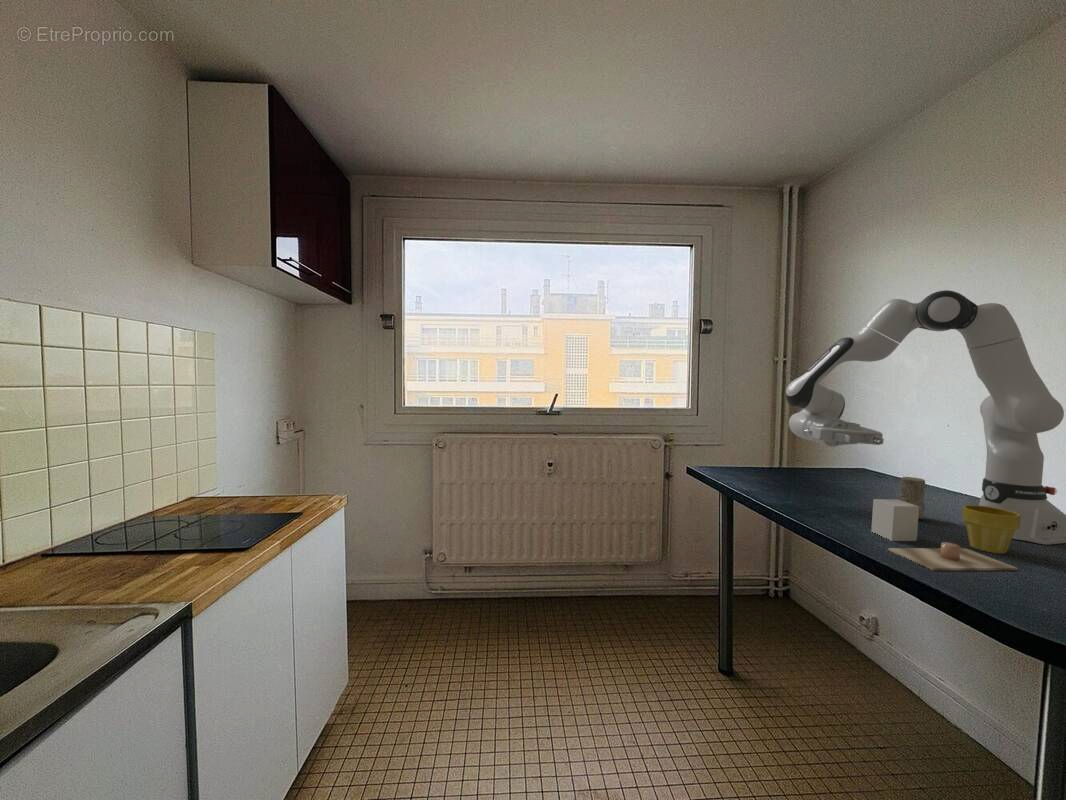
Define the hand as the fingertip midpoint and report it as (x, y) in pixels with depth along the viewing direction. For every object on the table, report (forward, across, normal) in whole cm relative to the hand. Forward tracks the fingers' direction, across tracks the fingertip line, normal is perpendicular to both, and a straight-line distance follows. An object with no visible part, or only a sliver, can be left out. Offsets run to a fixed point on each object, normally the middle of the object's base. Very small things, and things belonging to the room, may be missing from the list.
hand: (866, 440), depth 138 cm
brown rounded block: (+28, 0, +22) cm, 36 cm away
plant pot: (+22, +17, +22) cm, 36 cm away
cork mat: (+28, 0, +22) cm, 36 cm away
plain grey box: (+12, +1, +23) cm, 26 cm away
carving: (-3, +22, +23) cm, 32 cm away
